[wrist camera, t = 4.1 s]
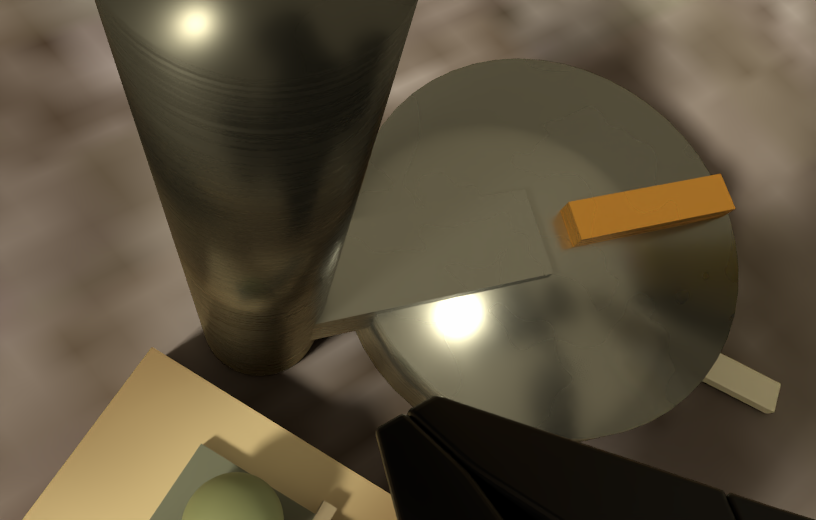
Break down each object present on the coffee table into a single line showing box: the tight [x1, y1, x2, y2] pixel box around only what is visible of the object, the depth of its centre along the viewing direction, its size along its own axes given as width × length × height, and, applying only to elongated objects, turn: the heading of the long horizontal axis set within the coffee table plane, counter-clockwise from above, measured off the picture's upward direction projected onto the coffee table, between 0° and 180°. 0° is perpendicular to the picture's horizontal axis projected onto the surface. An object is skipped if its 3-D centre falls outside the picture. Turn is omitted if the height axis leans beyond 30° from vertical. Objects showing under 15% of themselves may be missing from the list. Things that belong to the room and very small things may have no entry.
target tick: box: [702, 353, 781, 414], centre depth 18 cm, size 2×1×1 cm, turn 65°
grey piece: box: [95, 0, 738, 442], centre depth 12 cm, size 12×9×12 cm
